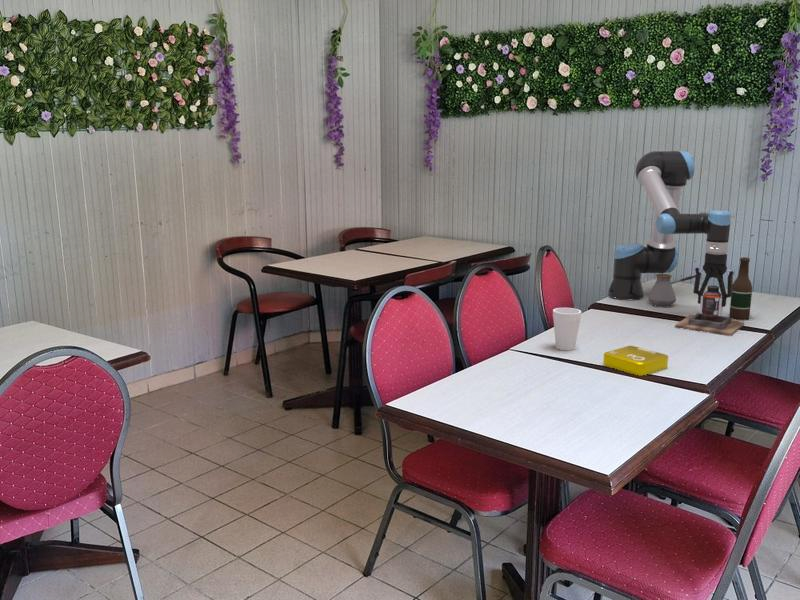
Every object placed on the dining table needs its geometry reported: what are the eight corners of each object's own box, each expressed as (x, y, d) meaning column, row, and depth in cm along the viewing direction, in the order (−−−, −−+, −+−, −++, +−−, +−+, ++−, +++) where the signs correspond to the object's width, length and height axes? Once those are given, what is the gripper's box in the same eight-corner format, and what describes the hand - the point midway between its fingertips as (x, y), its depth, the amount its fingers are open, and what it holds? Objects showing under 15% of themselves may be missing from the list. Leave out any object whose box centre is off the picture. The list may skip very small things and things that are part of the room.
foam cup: (579, 352, 250) (581, 314, 247) (551, 351, 252) (553, 313, 249) (578, 344, 259) (580, 308, 256) (551, 343, 261) (553, 307, 258)
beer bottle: (753, 320, 292) (759, 259, 287) (733, 320, 292) (739, 259, 287) (744, 315, 300) (750, 256, 294) (725, 315, 300) (730, 256, 294)
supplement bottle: (720, 318, 279) (723, 288, 277) (703, 317, 280) (706, 287, 278) (717, 314, 285) (720, 285, 282) (700, 313, 286) (703, 284, 284)
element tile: (669, 368, 235) (671, 354, 234) (641, 378, 226) (642, 362, 225) (629, 357, 246) (630, 343, 245) (600, 366, 237) (601, 351, 236)
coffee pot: (643, 305, 317) (645, 270, 314) (652, 300, 326) (654, 266, 323) (695, 312, 305) (698, 276, 301) (703, 307, 314) (706, 272, 310)
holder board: (674, 327, 282) (675, 319, 281) (689, 317, 297) (690, 309, 297) (731, 336, 270) (732, 327, 269) (744, 324, 286) (744, 317, 285)
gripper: (687, 251, 280) (682, 312, 285) (741, 256, 269) (735, 319, 274) (692, 249, 286) (687, 308, 291) (746, 253, 275) (740, 315, 280)
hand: (710, 313), depth 283 cm, fingers closed on supplement bottle, 6 cm apart
